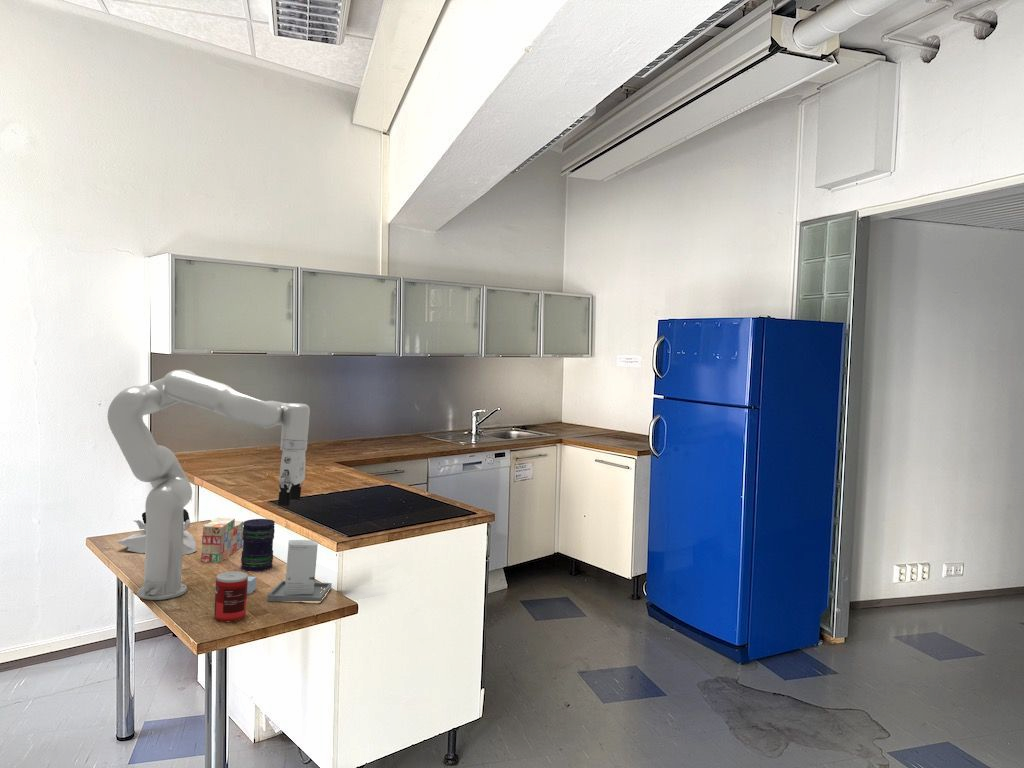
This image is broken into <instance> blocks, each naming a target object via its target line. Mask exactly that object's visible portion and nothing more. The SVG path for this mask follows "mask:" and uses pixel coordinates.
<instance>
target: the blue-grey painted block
mask: <svg viewBox="0 0 1024 768" xmlns="http://www.w3.org/2000/svg"><path fill="white" fill-rule="evenodd" d="M256 589H257V576H249V575H248V585H247V595H252V593H254V592H255V591H256ZM254 590H255V591H254ZM253 591H254V592H253Z"/></svg>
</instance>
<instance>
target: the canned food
mask: <svg viewBox="0 0 1024 768" xmlns="http://www.w3.org/2000/svg"><path fill="white" fill-rule="evenodd" d="M248 576H249V575H248V573H246V572H245V571H237V570H236V571H235V570H234V571H233V570H231V571H225V572H224V571H223V572H221V573H218V574H217V575H216V578H215V591H214V592H215V593H214V594H215V595H214V609H213V611H214V618H215V619H217V620H216V621H218V620H219V621H218V622H222V621H224V622H225V623H228V622H227V621H232V622H236V621H235V620H237V621H240V620H242V619H243V617H244V618H245V616H246V613H247V600H248V599H247V598H248V594H247V585H248ZM239 619H240V620H239Z"/></svg>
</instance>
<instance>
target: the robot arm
mask: <svg viewBox="0 0 1024 768" xmlns="http://www.w3.org/2000/svg"><path fill="white" fill-rule="evenodd" d="M178 403H184V404H187V405H192V406H194V407H198V408H201V409H204V410H207V411H210V412H214V413H216V414H218V415H221V416H223V417H227V418H230V419H233V420H236V421H238V422H240V423H244V424H248V425H251V426H254V427H258V428H261V429H271V428H273V427H275V426H281V433H280V434H281V435H280V448H279V450H280V451H282V453H281V457H280V458H281V459H280V468H279V479H278V481H279V484H278V487H279V488H278V500H277V501H278V502H277V503H278V504H277V505H278V506H279V507H280V506H281V507H282V506H283V507H289V506H290V505H291V500H293V501H294V500H297V501H299V500H301V493H302V486H303V485H302V484H303V482H304V481H305V480H306V462H307V461H306V451H307V450H308V438H309V426H310V415H311V408H310V406H309V404H307V403H297V402H296V403H295V402H288V403H287V402H281V401H278V400H277V401H276V400H266V401H265V400H262V399H258V398H255V397H254V396H253V397H252V396H249V395H247V394H243V393H241V392H239V391H237V390H235V389H234V388H233V387H231V386H230V385H227V384H225V383H223V382H219V381H217V380H212V379H210V378H207V377H203V376H200V375H197V374H196V373H194V371H192V370H188V369H174V370H171V371H169V372H168V373H166V374H165V375H164V376H163V377H162V378H159V379H157V380H154V381H152V382H149V383H146V384H144V385H136V386H135V385H134V386H130V387H126V388H124V389H123V390H121V391H120V392H119V393H117V394H116V396H115V397H114V398H113V399H112V400H111V402H110V404H109V407H108V409H107V423H108V427H109V429H110V431H111V433H112V435H113V437H114V439H115V442H116V443H117V445H118V446H119V448H120V450H121V452H122V455H123V456H124V458H125V461H126V462H127V464H128V466H129V468H130V470H131V472H132V474H133V476H134V477H135V478H136V479H137V480H138V481H140V482H142V483H143V482H144V483H149V484H150V485H151V487H152V489H151V490H150V491H149V493H148V494H147V497H146V499H145V505H144V509H145V512H146V549H145V554H144V555H145V556H144V567H143V568H144V571H143V572H144V573H143V586H141V587H139V588H138V589H137V590H136V596H137V597H138V598H139V599H142V600H146V601H147V600H149V601H158V600H159V601H161V600H167V599H174V598H177V597H181V596H182V595H185V594H186V593H187V590H188V589H187V588H188V587H187V585H186V584H184V583H182V570H183V535H184V527H185V523H184V518H183V509H185V507H186V506H187V505H188V504H190V503H189V502H190V501H191V499H192V497H193V489H192V485H191V483H190V481H189V479H188V477H187V475H186V472H184V471H185V470H183V467H182V465H181V464H180V462H179V460H178V458H177V456H176V455H175V453H174V452H173V451H172V450H171V449H170V448H168V447H166V446H164V445H159V444H157V442H156V441H155V439H154V436H153V435H152V431H150V429H149V428H148V426H147V425H146V423H145V422H144V416H147V415H152V414H153V413H156V412H160V410H164V409H165V408H169V407H172V406H173V405H175V404H178Z"/></svg>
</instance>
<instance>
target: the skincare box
mask: <svg viewBox="0 0 1024 768" xmlns="http://www.w3.org/2000/svg"><path fill="white" fill-rule="evenodd" d="M318 546H319V545H318V541H317V540H316V539H313V540H311V539H309V540H308V539H290V540H288V547H287V548H288V549H287V557H286V558H287V560H286V561H287V562H286V571H285V572H286V573H285V580H284V581H285V595H303V594H313V593H314V582H315V578H316V569H317V557H318V556H317V555H318Z"/></svg>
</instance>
